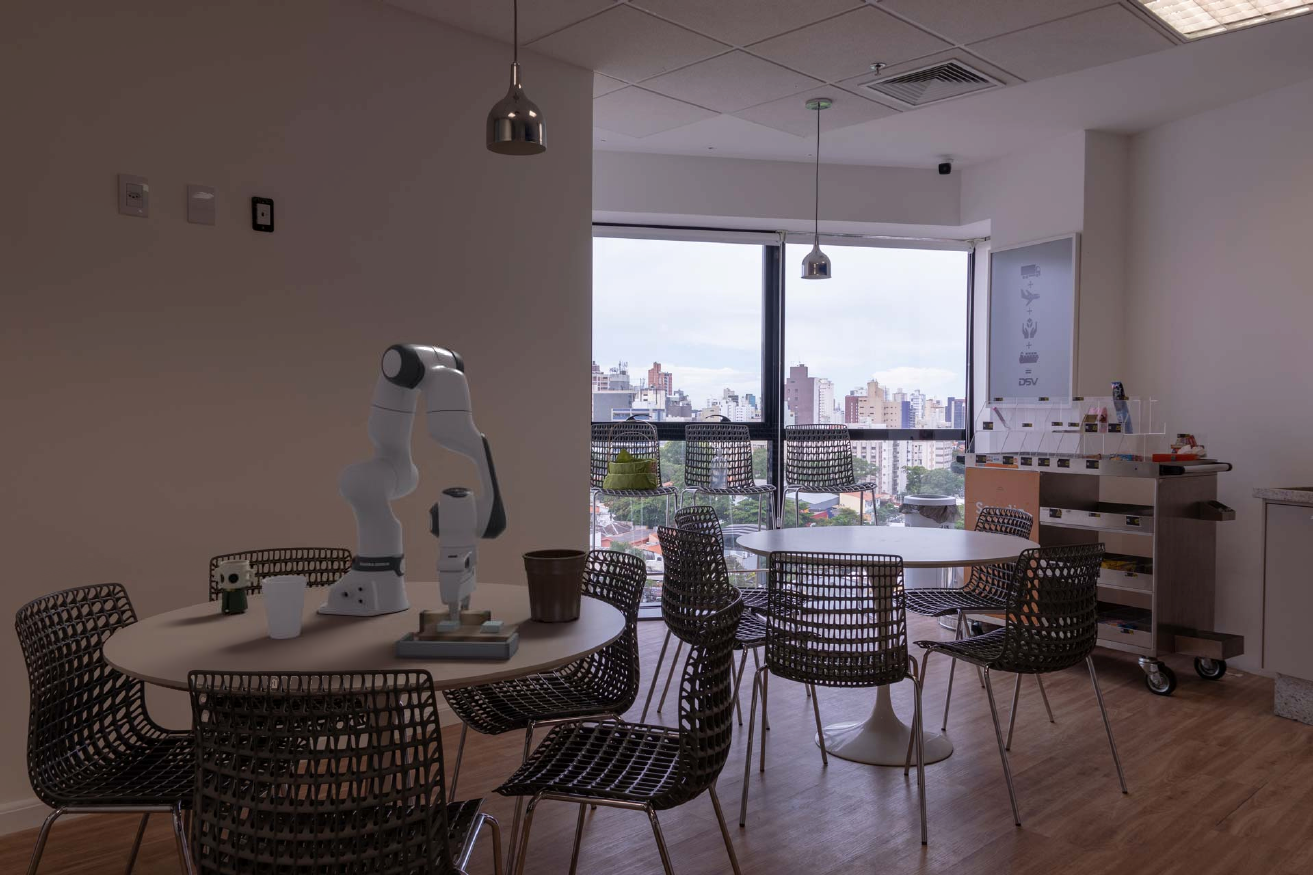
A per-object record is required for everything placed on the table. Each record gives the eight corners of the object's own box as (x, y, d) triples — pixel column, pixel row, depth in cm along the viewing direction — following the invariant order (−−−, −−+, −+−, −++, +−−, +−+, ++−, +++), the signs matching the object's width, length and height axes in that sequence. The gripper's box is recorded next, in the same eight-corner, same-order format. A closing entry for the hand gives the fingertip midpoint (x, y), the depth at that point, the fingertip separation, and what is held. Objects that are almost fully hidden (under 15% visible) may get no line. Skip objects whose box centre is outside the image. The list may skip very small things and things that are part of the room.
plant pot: (515, 613, 234) (514, 550, 234) (575, 608, 240) (575, 546, 240) (532, 627, 219) (532, 560, 219) (596, 621, 226) (596, 555, 225)
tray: (395, 657, 192) (395, 642, 192) (409, 646, 201) (409, 631, 201) (509, 659, 191) (509, 643, 191) (518, 648, 200) (518, 633, 200)
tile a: (437, 631, 205) (437, 624, 205) (442, 627, 209) (442, 620, 209) (455, 631, 205) (455, 624, 205) (459, 627, 209) (459, 620, 209)
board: (418, 647, 201) (418, 635, 201) (432, 635, 211) (432, 624, 211) (509, 648, 200) (509, 636, 200) (518, 636, 210) (518, 625, 210)
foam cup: (264, 642, 206) (263, 584, 205) (261, 633, 214) (260, 577, 214) (309, 637, 210) (308, 580, 210) (304, 628, 218) (303, 574, 218)
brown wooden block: (419, 632, 215) (419, 613, 215) (424, 628, 218) (423, 609, 218) (487, 633, 214) (487, 613, 214) (490, 629, 217) (490, 610, 217)
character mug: (206, 614, 234) (205, 563, 233) (223, 608, 241) (222, 559, 240) (246, 616, 232) (245, 564, 232) (262, 609, 239) (261, 560, 239)
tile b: (481, 631, 204) (481, 625, 204) (486, 627, 208) (486, 621, 208) (499, 632, 204) (499, 625, 204) (503, 627, 208) (503, 621, 208)
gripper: (456, 551, 226) (457, 607, 227) (434, 564, 206) (435, 626, 206) (481, 550, 226) (483, 607, 226) (462, 564, 206) (463, 625, 206)
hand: (460, 616), depth 216 cm, fingers open, 8 cm apart
